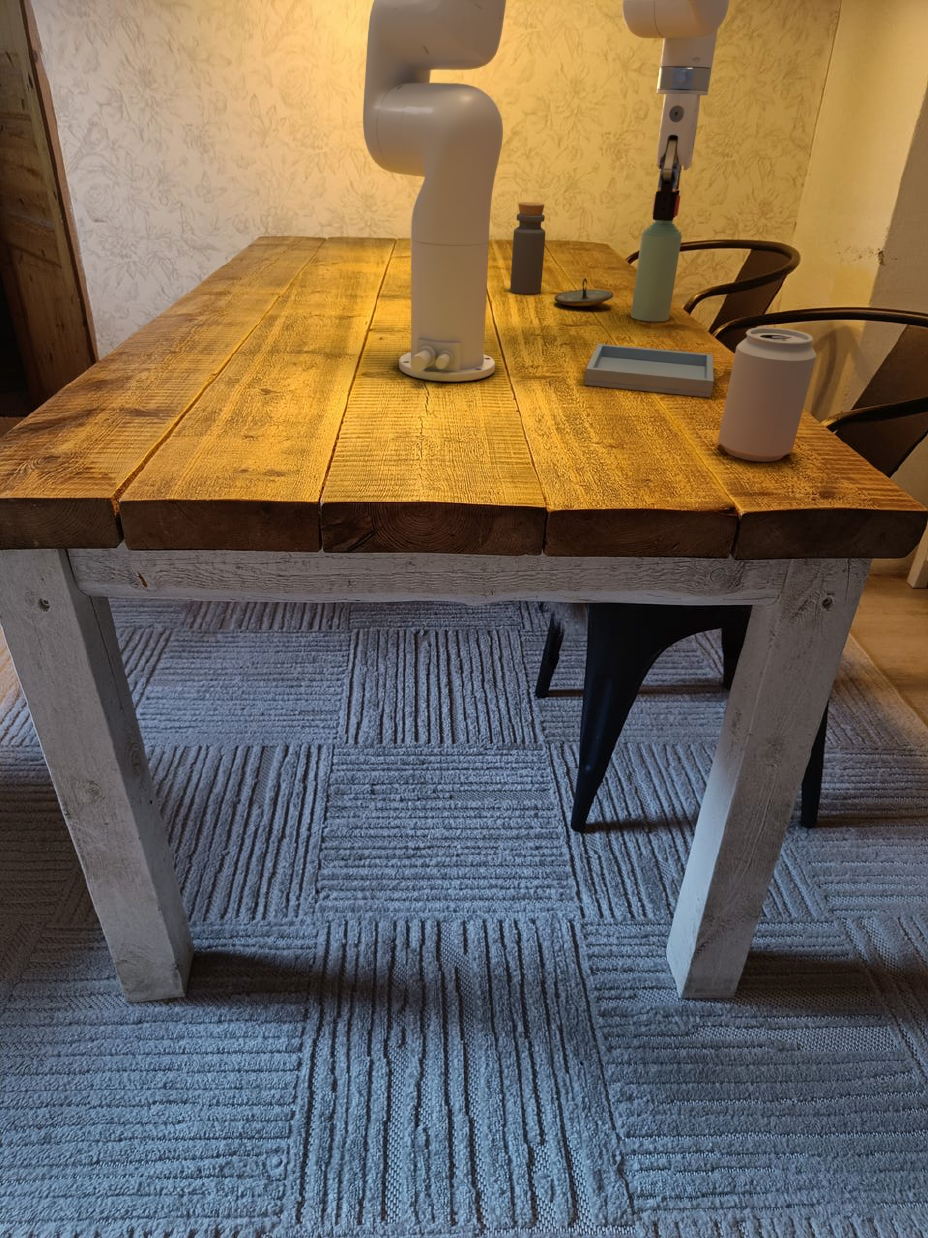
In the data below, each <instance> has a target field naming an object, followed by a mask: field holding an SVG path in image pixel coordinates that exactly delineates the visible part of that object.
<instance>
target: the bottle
mask: <svg viewBox="0 0 928 1238" xmlns="http://www.w3.org/2000/svg"><path fill="white" fill-rule="evenodd" d="M517 206H518V212H519V213H517V214H516V221H518V226H517V227H515V228H514V230H513V236H512V251H511V252H512V253H511V272H510V287H509V289H510V292H511V293H513V294H518V295H528V296H529V295H538V294H541V293H542V282H543V272H544V271H543V270H544V259H545V245H546V230H545V229H544V228H542V223H543V222H545V220H546V219H545V218H546V215H545V214H543V213H544V210H545V209H544V208H545V204H544V203H540V202H529V201H528V202H518V205H517Z"/></svg>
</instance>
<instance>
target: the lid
mask: <svg viewBox="0 0 928 1238" xmlns="http://www.w3.org/2000/svg"><path fill="white" fill-rule="evenodd" d="M587 283H588V280H587V278H585V277H584V278H583V279H582V283H581V284H582V285H581V287H582V289H576V290H569V291H563V292H561V293H558V294H556V295H555V296H554V297H553V299H554V301H555V302H557V303H559V304H562V305H566V306H569V307H570V306H571V307H580V308H582V307H589V306H599V305H602V304H603V303H605V302H607V301H610V300H611V299H613V298H614V293H613V292H612V291H610V290H605V289H604V290H603V289H587V286H585V285H587Z"/></svg>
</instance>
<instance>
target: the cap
mask: <svg viewBox="0 0 928 1238" xmlns="http://www.w3.org/2000/svg"><path fill="white" fill-rule="evenodd" d="M653 197H654V198H653V203H652V208H651V209H652V211H651V215H653V211H654V204H655V197H656V193H655V194H654V196H653ZM680 202H681V195H680V194H679V195H677V198H676V205H675V212H674V216H675V217H677V216H678V215H679V208H680Z"/></svg>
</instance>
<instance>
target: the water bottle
mask: <svg viewBox="0 0 928 1238" xmlns="http://www.w3.org/2000/svg"><path fill="white" fill-rule="evenodd" d="M673 221H674V219H673V220H672V221H661V220H654V222H652V224H649V225H648V226H647V227H646V229H643V231H642V232H641V237H640V244H639V251H638V259H637V267H636V272H635V273H636V274H635V281H634V289H633V296H632V304H631V311H630V317H631V318H632V319H635V320H638V321H643V322H651V323H652V322H653V323H654V322H659V323H660V322H666V321H669V320H670V314H671V307H672V301H673V297H674V296H673V295H674V289H675V282H676V275H677V271H678V263H679V257H680V250H681V245H682V238H683V235H682V232H681V231H680V230H679V229H678V227H677V226H675V223H673Z"/></svg>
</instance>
